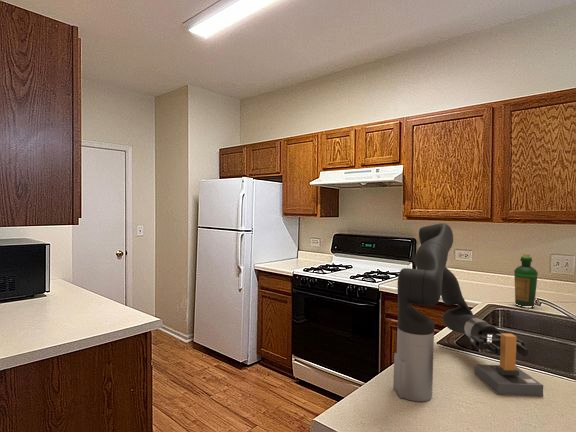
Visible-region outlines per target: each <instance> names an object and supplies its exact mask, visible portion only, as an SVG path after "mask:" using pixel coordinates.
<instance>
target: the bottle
mask: <svg viewBox="0 0 576 432" xmlns="http://www.w3.org/2000/svg"><path fill="white" fill-rule="evenodd" d="M530 255H531V254H528V253H523V254H522V256H521V257H520V259H519V261H520V262H521V265H518V266H517V267H516V268H515V269H514V270H513V271H514V273H513V274H514V301H515V302H514V304H515V303H516V304H518V305H521V306H532V307H533V306H534V307H535V305H534V300H535V301H536V294H537V286H538V285H537V284H538V283H537V282H538V275H539V273H538V271H537V269H536V268H534V267H532V262H533V259H532V256H530ZM516 304H515V305H516ZM534 307H533V308H534Z"/></svg>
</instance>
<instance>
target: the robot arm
mask: <svg viewBox="0 0 576 432" xmlns="http://www.w3.org/2000/svg"><path fill="white" fill-rule="evenodd" d="M418 239H419V243H420V245H419V247H418V248H417V251H416V252H415V255H414V259H413V260H414V266H415V268H407V267H404V268H402V269H400V271H399V273H398V276H397V333H396V335H397V336H396V337H397V338H396V352H395V353H394V357H393V359H394V361H393V381H392V382H393V384H392V385H393V389H394V391H395V392H396V394H397V396H398V398H400V399H406V400H408V401H413V402H417V403H418V402H419V403H421V402H427V401H430V400H431V399H432V398H433V382H434V381H433V380H434V378H433V377H434V350H435V349H434V340H435V323H434V320H433V319H432V318H431V317H430V316H427V315H425V314H423V313H421V312H419V311H418V310H417V309H416V308H415V307H414V306H413V304H414V305H418V306H420V305H421V306H427V307H428V306H429V307H430V306H431V307H433V306H436V305H437V304H438V303H439V301H440V299H442V303H444V304H445V305H448V306H455V305H456V306H457V307H454V308H451V309H448V310H445V312H443V314H442V322H443V324H444V326H446V327H447V329H449V330H451V331H453V332H456V333H460V334H463V335H466V337H468V338H469V339H470V344H471V345H472V346H474V347H475V348H477V349H478V350H480V351H484V350H486V351H487V352H491V353H492V354H494V355H496V356H499V357H500V342H501V332H500V330H499V329H498V328H497V327H495V326H494V325H492V324H490V323H488V322H487V321H485V320H483V319H480V318H478V317H476V316H475V315H474V313H473V311H472V310H471V308H470V307H469V305H468V304H467V301H466V300H465V298H464V297H463V294H462V290H461V287H460V284H459V281H458V279H457V277H456V275H455V274H454V273H453V272H452V271H451V270H450V269H449V268H447V266H446V265H447V262H448V257H449V256H448V255H449V252H450V251H451V248H452V247H453V244H454V234H453V230H452V228H451V226H450V225H448V224H447V223H443V222H440V223H436V224H431V225H427V226H423V227H420V228H419V230H418ZM516 353H518V354H520V355H521V356H523V357H528V355H529V349H528V348H527V347H526V342H525V341H524V340H522V339H520V338H519V337H517V340H516Z"/></svg>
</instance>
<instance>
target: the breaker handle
mask: <svg viewBox="0 0 576 432" xmlns="http://www.w3.org/2000/svg"><path fill="white" fill-rule="evenodd" d="M500 334H501V342H500V356H499V364H495V365H496V370H497V371H499V372H500V373H501V374H502V375H515V376H519V371H518V370H516V369H515V368H516V367H517V365H516V363H517V362H516V361H517V351H516V340H517V338H518V337H517V335H514V334H513V333H503V332H500ZM498 365H500V366H498Z"/></svg>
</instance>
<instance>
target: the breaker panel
mask: <svg viewBox="0 0 576 432" xmlns="http://www.w3.org/2000/svg"><path fill="white" fill-rule="evenodd" d="M496 365H498V366H500V364H474V375H475V376H477V377H478V378H479V379H480V380H481V381H482V382H483V383H485V384H486V385H487V386H488V387H489V388H490V389H491V390H492V391H493V392H494V393H496V394H497V395H498V396H499V395H500V396H527V397H528V396H529V397H530V396H531V397H532V396H533V397H543V396H544V384H542V383H540V382H539V381H538V380H536V379H535V378H533V377H532V376H531V375H529V374H528V373H526V372H525V371H524V370H522V369H521V368H519V367H518V366H516V368H515V369H516V370H518V371H519V376H515V375H502V374H501V373H500V372H499V371H497V370H496Z"/></svg>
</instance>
